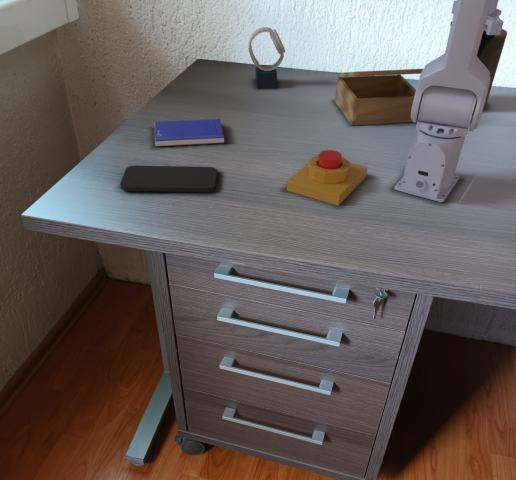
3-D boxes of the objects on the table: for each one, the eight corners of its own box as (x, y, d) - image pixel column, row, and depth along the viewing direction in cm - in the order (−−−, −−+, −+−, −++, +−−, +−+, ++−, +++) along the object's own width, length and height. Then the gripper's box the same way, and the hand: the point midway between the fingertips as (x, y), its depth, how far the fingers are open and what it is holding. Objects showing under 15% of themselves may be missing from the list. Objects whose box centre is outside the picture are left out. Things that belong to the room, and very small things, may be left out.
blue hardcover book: (154, 138, 93) (223, 135, 95) (154, 120, 99) (219, 117, 100) (155, 147, 94) (224, 143, 96) (155, 128, 100) (220, 125, 102)
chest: (417, 121, 104) (423, 96, 100) (351, 125, 102) (354, 99, 99) (396, 98, 113) (400, 74, 109) (334, 101, 111) (337, 77, 108)
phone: (214, 188, 82) (118, 186, 82) (214, 193, 83) (119, 191, 82) (217, 166, 87) (127, 165, 87) (217, 171, 88) (128, 169, 88)
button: (334, 172, 81) (335, 162, 80) (313, 167, 83) (314, 156, 81) (344, 163, 84) (345, 153, 82) (323, 158, 85) (324, 148, 84)
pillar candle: (467, 116, 106) (491, 32, 96) (428, 101, 111) (447, 20, 101) (495, 104, 110) (520, 23, 100) (456, 91, 116) (477, 13, 105)
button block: (338, 205, 80) (340, 184, 78) (286, 190, 84) (287, 169, 81) (366, 177, 87) (369, 156, 85) (317, 164, 90) (319, 144, 88)
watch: (285, 88, 117) (287, 32, 109) (249, 88, 116) (249, 32, 108) (282, 79, 121) (284, 24, 113) (247, 80, 120) (247, 25, 112)
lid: (429, 73, 97) (429, 68, 97) (358, 76, 96) (358, 71, 95) (400, 74, 109) (401, 70, 109) (337, 77, 108) (337, 72, 107)
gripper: (532, -12, 80) (502, 82, 90) (488, -31, 91) (465, 56, 100) (489, -11, 80) (463, 84, 89) (449, -30, 90) (430, 57, 99)
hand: (462, 69), depth 95 cm, fingers closed
